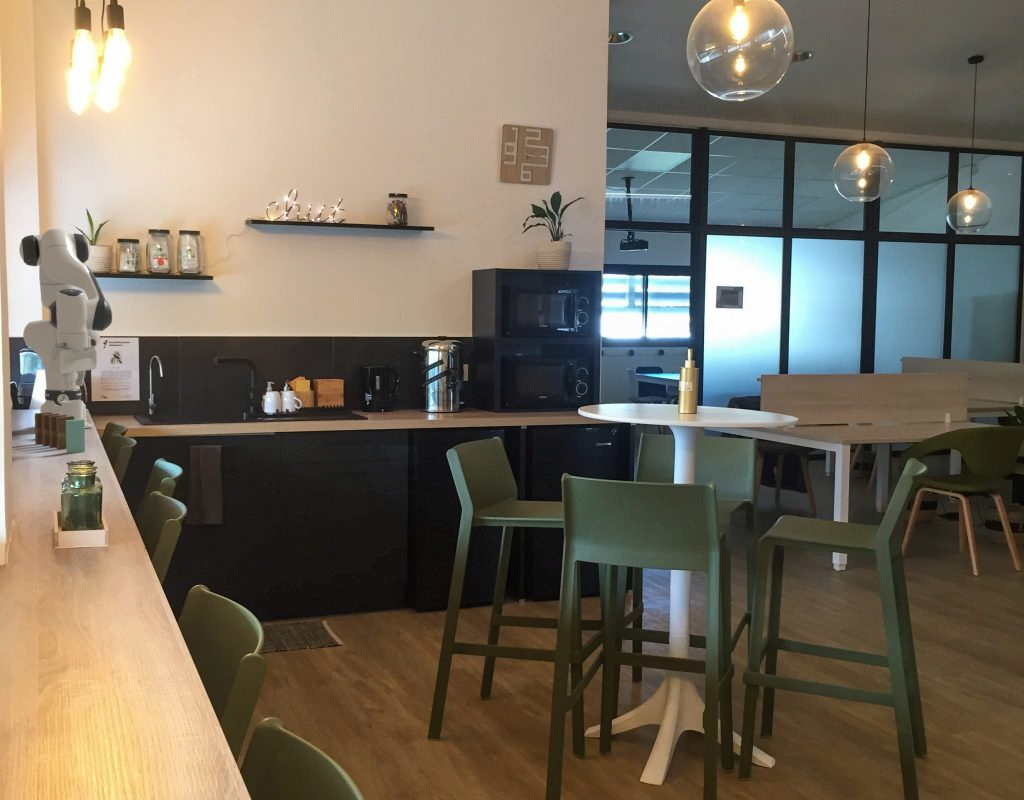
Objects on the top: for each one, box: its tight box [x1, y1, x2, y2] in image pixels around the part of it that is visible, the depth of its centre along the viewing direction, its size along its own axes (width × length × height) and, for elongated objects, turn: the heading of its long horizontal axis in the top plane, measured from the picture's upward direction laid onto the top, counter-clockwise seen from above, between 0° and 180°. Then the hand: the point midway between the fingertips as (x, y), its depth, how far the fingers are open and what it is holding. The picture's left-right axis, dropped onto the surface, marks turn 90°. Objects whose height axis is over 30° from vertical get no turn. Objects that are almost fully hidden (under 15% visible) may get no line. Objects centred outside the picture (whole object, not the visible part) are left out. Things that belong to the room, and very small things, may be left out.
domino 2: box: [41, 413, 59, 447], centre depth 327 cm, size 2×5×10 cm, turn 142°
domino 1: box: [34, 412, 52, 445], centre depth 330 cm, size 2×5×10 cm, turn 141°
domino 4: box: [56, 416, 74, 450], centre depth 321 cm, size 2×5×10 cm, turn 142°
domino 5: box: [66, 419, 86, 454], centre depth 314 cm, size 2×5×10 cm, turn 135°
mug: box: [52, 400, 84, 420], centre depth 347 cm, size 10×7×12 cm, turn 112°
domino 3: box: [49, 415, 67, 449], centre depth 324 cm, size 2×5×10 cm, turn 142°
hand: (74, 386), depth 316 cm, fingers open, 4 cm apart
